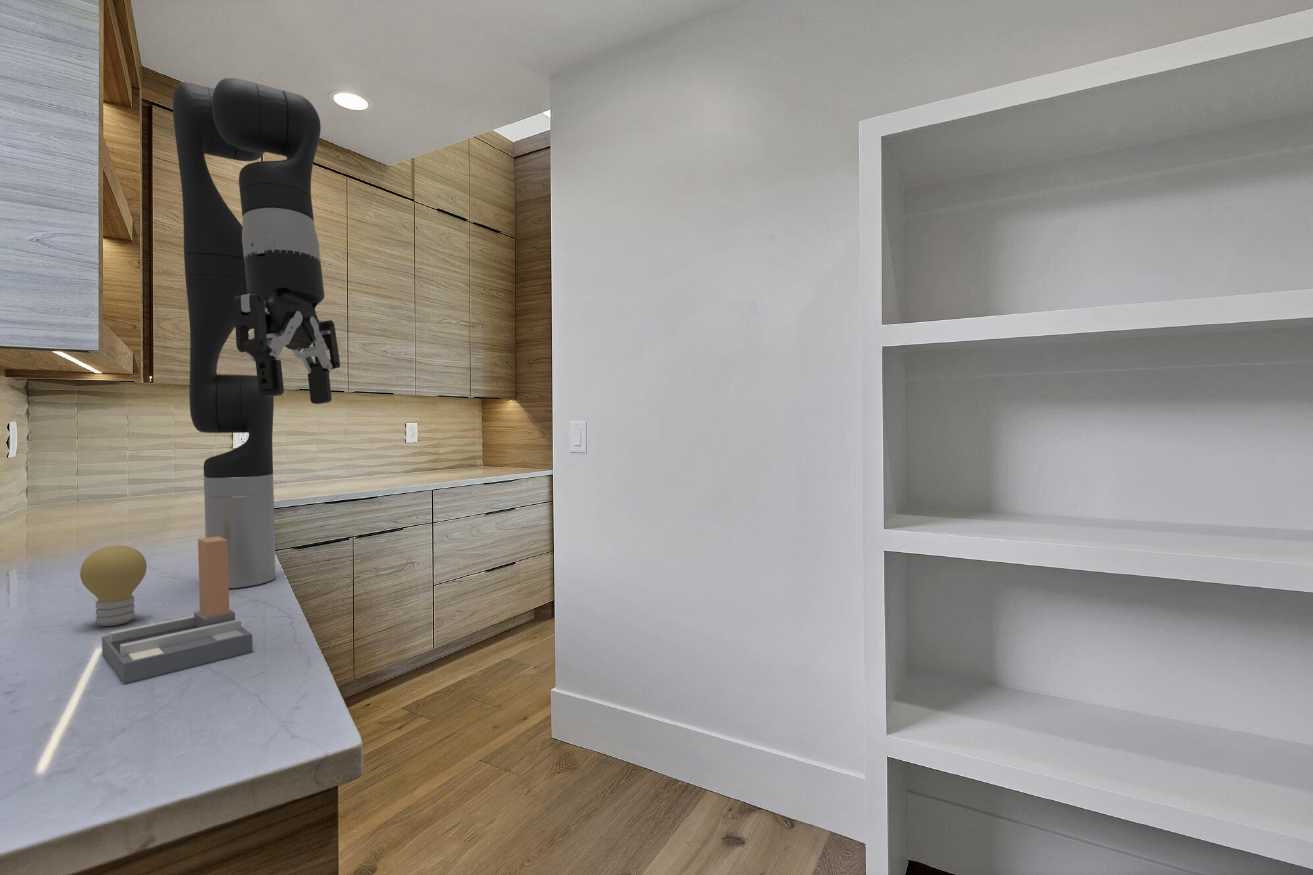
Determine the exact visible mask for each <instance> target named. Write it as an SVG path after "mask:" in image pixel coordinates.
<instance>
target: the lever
mask: <svg viewBox="0 0 1313 875" xmlns="http://www.w3.org/2000/svg"><path fill="white" fill-rule="evenodd" d="M197 550H198V553H197V554H198V555H197V556H198V588H199V589H198V591H199V592H198V595H199V611H194V612H193V615H194V625H195V626H196V627H197V628H200V627H204V626H209V625H214V624H218V623H223V622H228V621H232V620H236V612H235V611H233V610H232V609H231V608H230V588H229V575H228V540H226V539H224V538H221V537H219V536H218V537H210V538H205V537H202V538H198V539H197Z"/></svg>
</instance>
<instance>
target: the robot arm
mask: <svg viewBox="0 0 1313 875" xmlns="http://www.w3.org/2000/svg"><path fill="white" fill-rule="evenodd" d="M172 95H173V97H172V116H173V125H174V126H173V127H174V136H175V142H176V151H177V152H176V153H177V159H178V166H179V175H180V176H179V177H180V183H181V185H180V186H181V195H182V196H181V197H182V198H181V199H182V215H183V216H182V217H183V220H182V221H183V254H184V255H183V257H184V258H183V260H184V275H185V276H184V277H185V286H186V287H185V288H186V297H187V308H188V319H189V320H188V321H189V384H188V385H189V387H188V388H189V389H188V390H189V392H188V393H189V394H188V395H189V412H190V418H191V421H192V425H193V426H194V428H195V429H196V430H197V431H198V432H199V433H206V434H232V433H234V434H240V433H241V434H242V433H243V434H244V433H247V434H248V437H247V440H246V441H245V442H243V443H242V444H241V445H239V446H237V447H236V448H234V449H232V450H229V451H226V452H224V453H221V454H216V455H213V456H210V457H208V458H206V459H205V460H204V462H203V476H204V477H203V492H204V494H203V495H204V496H203V497H204V498H203V499H204V526H205V527H204V532H205V533H204V534H205V535H204V538H210V537H218V536H219V537H221V538H224V539H226V540H228V575H229V589H238V588H239V589H240V588H246V587H252V586H253V587H254V586H257V585H262V584H265V583H268V582H271V581H273V580H274V579H275V578H276V543H275V542H276V535H275V534H276V533H275V532H276V531H275V500H274V499H275V497H274V496H275V495H274V494H275V493H274V461H273V460H274V459H273V457H274V455H273V433H274V432H273V428H274V427H273V425H274V408H275V407H274V406H275V405H274V404H275V403H274V402H275V401H274V400H275V399H274V397H278V396H282V395H284V392H285V388H284V379H283V370H282V368H283V367H282V360H280V359H278V358H279V357H280V356H281V353H282V351H283V349H284V347H285V348H286V349H288V350H291V351H292V352H293V354H294V355H295V356H294V357H296V358H297V359H300V360H301V361H302V362H303V365H304V366H305V368H306V370H307V372H308V373H307V381H308V389H309V398H310V399H309V400H310V402H311V403H312V404H315V405H323V404H328V403H330V402H331V401H332V389H331V380H330V372H332V370H334V369H339V368H341V362H340V361H341V360H340V354H339V347H338V340H337V332H336V326H335V322H334V320H332V319H329V320H324V321H323V320H319V317H318V315H317V311H316V308H317V306H318V305H319V304H320V303H322V302H323V300H324V299H325V289H324V278H323V271H322V270H323V269H322V261H321V253H320V251H321V250H320V245H319V244H320V243H319V238H318V234H317V231H316V227H315V226H316V225H315V220H314V219H315V218H314V211H313V210H314V209H313V203H312V202H313V201H312V190H311V188H312V172H313V166H314V160H315V157H316V153H317V149H318V145H319V140H320V138H321V137H320V136H321V128H322V127H321V126H322V125H321V119H320V116H319V114H318V111H317V110H316V108H315V107H314V105H313V104H312V103H311V102H310V100H309V99H307V98H306V97H304V96H303V95H301V94H298V93H295V92H290V91H287V90H284V89H279V88H275V87H271V86H268V85H264V84H261V83H257V82H253V81H249V80H245V79H242V78H236V77H225V78H222V79H221V80H219V81H218V83H217V84H216V86H215V88H212V87H209V86H204V85H199V84H196V83H193V82H188V81H187V82H186V81H185V82H184V81H182V82H179V83H178V84H177V85H176V86H175V87H174V90H173V94H172ZM265 153H269V154H273V155H278V156H283V157H286V159H281V160H280V159H279V160H263V161H258V160H259V159H261V158H262V157H263V155H265ZM205 155H209V156H214V157H217V158H218V157H219V158H223V159H229V160H234V161H240V162H251V163H247V164H245V165H244V166H243V167H242V168H241V169H240V171H239V174H238V185H239V186H238V187H239V198H240V206H241V215H242V224H241V223H240V221H239V219H238V218H237V217H236V215H235V214H234V213H233V212H232V210H231V209H230V207H229V205H227V203H226V202H225V200H224V198H223V197H222V195H221V193H220V192H219V190H218V188H217V187H216V184H215V183H214V181H213V178H212V176H211V173H210V171H209V168H208V164H207V161H206V157H205ZM254 161H255V162H254ZM234 329H235V342H236V343H235V344H236V348H237V350H238V352H240V353H248V355H249V357H250V359H251V360H252V361H253V362H255V368H256V375H251V374H250V375H248V374H247V375H246V374H245V375H243V374H240V375H239V374H217V368H218V363H219V362H218V361H219V358H220V355H221V351H222V350H223V347H224V345H225V344H226V342H227V340H228V338H229V336H230V335H231V333H232V332H233V330H234ZM250 330H253V338H250V337H249V331H250ZM326 351H328V352H329V357H328V354H327V353H326ZM312 357H314V360H313V358H312Z"/></svg>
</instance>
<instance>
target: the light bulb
mask: <svg viewBox="0 0 1313 875" xmlns="http://www.w3.org/2000/svg"><path fill="white" fill-rule="evenodd" d="M147 567H148V566H147V561H146V558H145V556H144V555H143V554H142V552H140V551H139V550H138V549H136V548H134V547H131V546H129V545H128V546H127V545H109V546H104V547H102V548H99V549H97V550H95V551H93V552H92V553H90V554H89V555H88V556H87V557H86V558H85V559H84V561H83V562H82V564H81V567H80V571H79V577H80V579H81V583H82V584H83V586H84V587H85V589H87V591H88V592H90V593H91V594H92V595H93V596H95V597H96V599H97V601H95V608H96V610H95V615H96V617H95V622H96V623H97V625H100V626H102V627H114V626H118V625H123V624H126V623H129V622H130V621H131V620H132V619H133V618H135V615H136V613H135V603H134V602H135V597H134V595H133V592H134V591H135V590H136V589H137V588H138V586H139V585H140V584H141V582H142V581H143V579H144V578H145V576H146V573H147Z"/></svg>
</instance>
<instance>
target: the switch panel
mask: <svg viewBox="0 0 1313 875" xmlns="http://www.w3.org/2000/svg"><path fill="white" fill-rule="evenodd" d="M101 645H102V646H101V648H102V650H101V651H102V656H103V658H105V660H106V662H108V664H109V665H110V667H111V668H112V670H113V671H114V673H115V674H116V675H117V677H118V678H119V680H120V681H121V682H122V684H124V685H125V684H129V683H133V682H137V681H142V680H145V679H149V678H154V677H157V676H162V675H165V674H170V673H173V672H178V671H181V670H185V669H189V668H193V667H198V666H201V665H204V664H210V663H212V662H218V661H221V660H224V659H229V658H232V657H236V656H241V655H245V654H250V653H252V652H253V633H252V632H250V631H248V629H245V628H243V627H242V620H240V619H235V620H232V621H228V622H223V623H218V624H214V625H209V626H204V627H200V628H197V627H196V626H195V625H194V614H193V615H188V616H183V617H179V618H174V619H169V620H163V621H159V622H154V623H153V622H152V623H149V624H144V625H138V626H133V627H129V628H123V629H119V630H113V631H109V635H103V636H101ZM161 674H162V675H161Z"/></svg>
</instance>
